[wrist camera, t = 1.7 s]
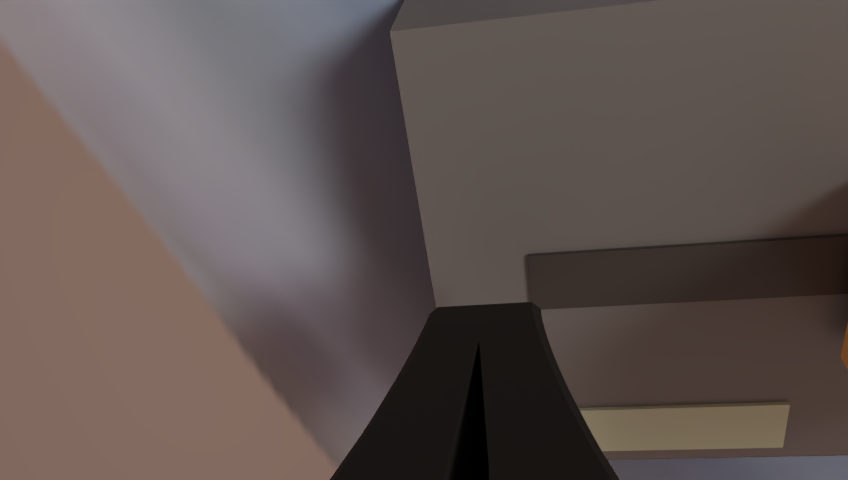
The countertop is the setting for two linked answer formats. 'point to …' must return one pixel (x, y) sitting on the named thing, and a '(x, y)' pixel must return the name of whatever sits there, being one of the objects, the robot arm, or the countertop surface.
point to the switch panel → (647, 205)
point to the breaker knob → (845, 349)
